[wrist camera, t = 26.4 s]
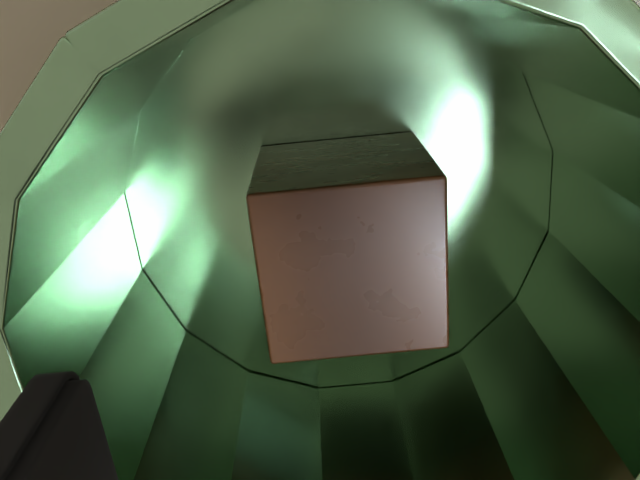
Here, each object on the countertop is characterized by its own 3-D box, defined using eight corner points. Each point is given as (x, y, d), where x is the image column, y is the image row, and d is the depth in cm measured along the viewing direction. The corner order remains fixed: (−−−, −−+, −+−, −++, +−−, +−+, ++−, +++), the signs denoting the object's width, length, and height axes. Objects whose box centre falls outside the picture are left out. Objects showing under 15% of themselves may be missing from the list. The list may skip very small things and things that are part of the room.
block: (413, 130, 18) (447, 175, 14) (418, 271, 20) (450, 349, 15) (258, 145, 18) (244, 194, 14) (277, 284, 20) (270, 365, 15)
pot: (595, -194, 15) (904, -387, 7) (552, 435, 23) (680, 668, 15) (24, -133, 15) (-266, -257, 8) (171, 469, 23) (103, 715, 15)
